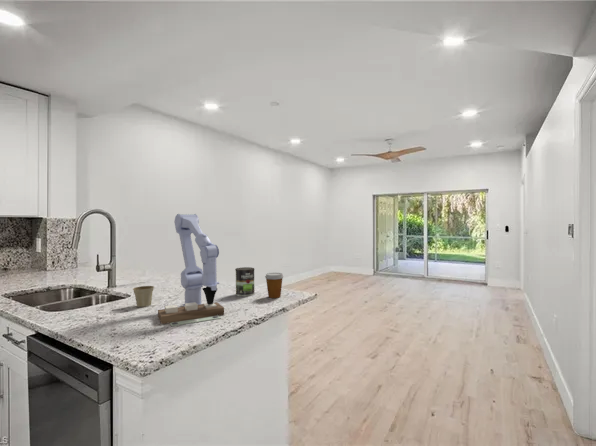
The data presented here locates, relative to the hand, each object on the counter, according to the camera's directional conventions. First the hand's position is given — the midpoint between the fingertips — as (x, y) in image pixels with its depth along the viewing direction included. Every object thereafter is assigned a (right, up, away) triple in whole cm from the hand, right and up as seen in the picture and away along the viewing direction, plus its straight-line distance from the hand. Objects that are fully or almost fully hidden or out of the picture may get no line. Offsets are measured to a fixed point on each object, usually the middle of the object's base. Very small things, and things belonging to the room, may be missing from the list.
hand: (210, 304), depth 144 cm
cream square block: (-14, -2, -8) cm, 16 cm away
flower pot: (-36, -5, +14) cm, 39 cm away
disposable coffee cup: (+26, -4, +29) cm, 39 cm away
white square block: (0, -4, 0) cm, 4 cm away
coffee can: (+9, -4, +36) cm, 38 cm away
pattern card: (-3, -4, -11) cm, 12 cm away
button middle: (-7, -2, -4) cm, 8 cm away
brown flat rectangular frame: (-7, -4, -4) cm, 9 cm away
